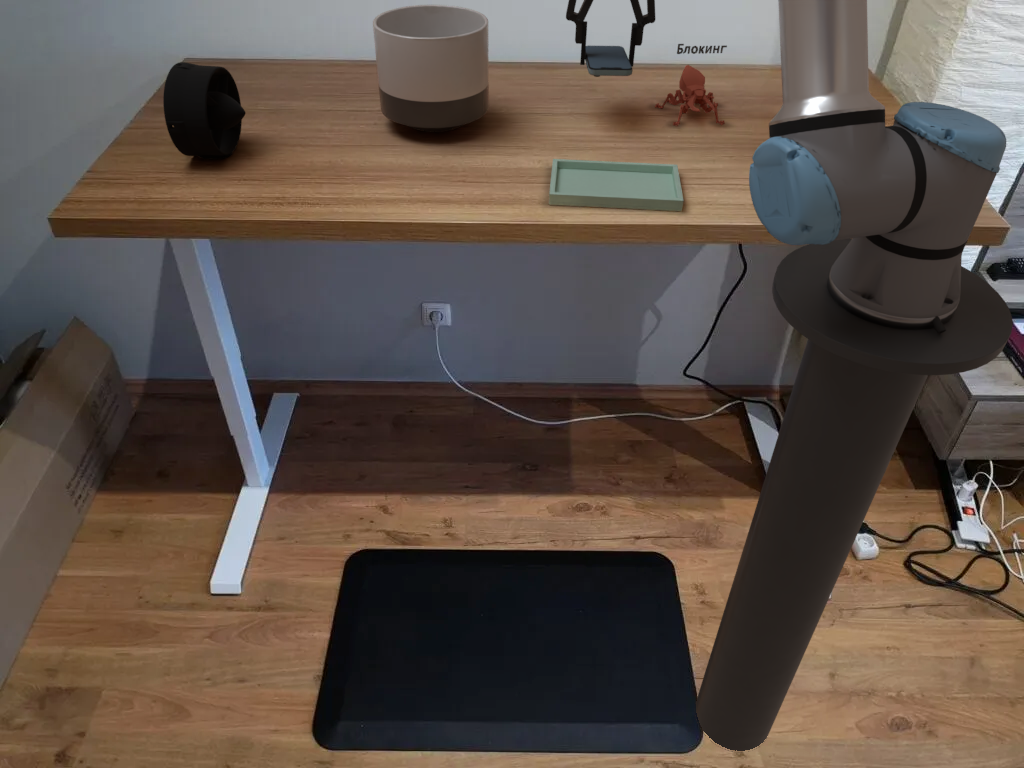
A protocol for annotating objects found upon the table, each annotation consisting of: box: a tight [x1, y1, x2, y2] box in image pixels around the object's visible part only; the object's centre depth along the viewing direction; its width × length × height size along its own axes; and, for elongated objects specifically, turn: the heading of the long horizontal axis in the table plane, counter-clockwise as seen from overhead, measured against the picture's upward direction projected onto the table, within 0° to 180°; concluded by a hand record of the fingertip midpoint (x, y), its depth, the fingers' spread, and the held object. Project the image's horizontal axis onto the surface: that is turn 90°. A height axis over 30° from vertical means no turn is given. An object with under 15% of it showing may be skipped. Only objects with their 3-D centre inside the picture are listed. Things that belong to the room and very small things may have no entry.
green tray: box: [548, 158, 684, 212], centre depth 126 cm, size 13×20×2 cm, turn 85°
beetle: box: [654, 43, 728, 127], centre depth 146 cm, size 15×12×13 cm
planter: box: [372, 4, 490, 133], centre depth 140 cm, size 19×19×18 cm
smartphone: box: [585, 45, 634, 78], centre depth 142 cm, size 8×2×15 cm
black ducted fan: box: [162, 61, 247, 160], centre depth 130 cm, size 14×14×10 cm
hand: (606, 63), depth 142 cm, fingers closed on smartphone, 8 cm apart
